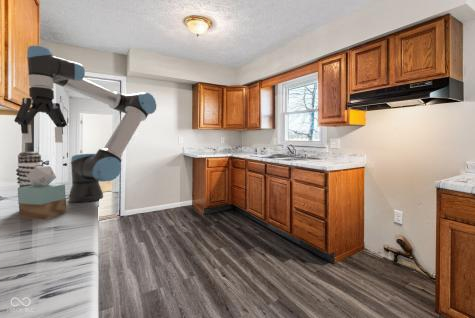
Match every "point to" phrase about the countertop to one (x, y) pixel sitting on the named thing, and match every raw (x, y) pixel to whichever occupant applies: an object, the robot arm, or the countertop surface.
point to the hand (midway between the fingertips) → (44, 142)
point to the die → (41, 176)
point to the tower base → (42, 210)
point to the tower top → (41, 194)
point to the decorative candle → (27, 166)
